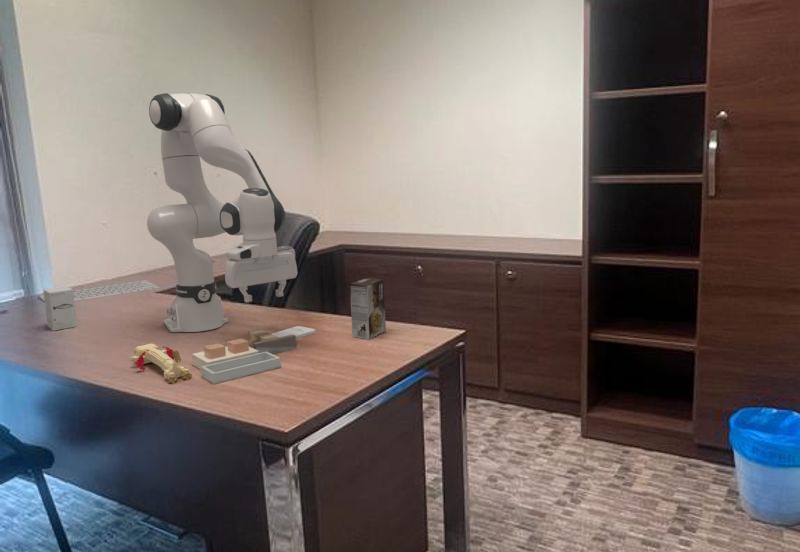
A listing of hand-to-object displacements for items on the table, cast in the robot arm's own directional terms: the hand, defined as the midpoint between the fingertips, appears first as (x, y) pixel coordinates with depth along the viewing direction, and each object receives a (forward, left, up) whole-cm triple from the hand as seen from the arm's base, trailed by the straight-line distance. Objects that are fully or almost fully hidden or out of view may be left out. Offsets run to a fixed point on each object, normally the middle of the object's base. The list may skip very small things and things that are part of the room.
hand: (264, 299), depth 187 cm
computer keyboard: (-121, -12, -15) cm, 123 cm away
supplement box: (-71, -37, -15) cm, 82 cm away
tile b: (+5, -11, -11) cm, 16 cm away
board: (+4, -14, -14) cm, 20 cm away
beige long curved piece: (-3, -29, -15) cm, 33 cm away
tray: (+13, -14, -14) cm, 24 cm away
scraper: (-2, 0, -14) cm, 15 cm away
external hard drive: (-8, +12, -15) cm, 21 cm away
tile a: (+5, -17, -11) cm, 21 cm away
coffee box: (+8, +29, -15) cm, 33 cm away
